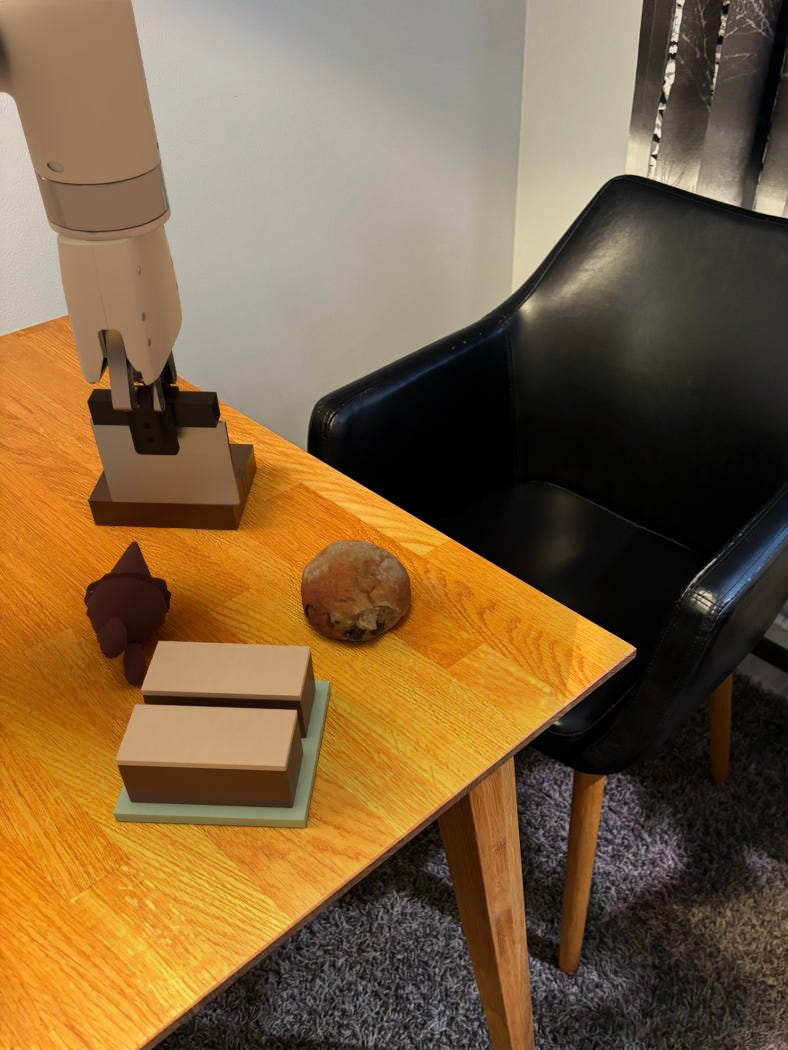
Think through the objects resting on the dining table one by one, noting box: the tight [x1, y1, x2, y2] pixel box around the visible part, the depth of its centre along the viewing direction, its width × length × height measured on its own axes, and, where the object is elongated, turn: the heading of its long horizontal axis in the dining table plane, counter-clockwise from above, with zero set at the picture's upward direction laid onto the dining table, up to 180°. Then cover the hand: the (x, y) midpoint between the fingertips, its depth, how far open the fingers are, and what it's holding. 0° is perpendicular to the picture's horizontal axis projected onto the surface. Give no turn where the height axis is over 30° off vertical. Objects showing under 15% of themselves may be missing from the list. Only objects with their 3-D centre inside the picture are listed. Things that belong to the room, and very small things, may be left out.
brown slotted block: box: [87, 443, 258, 531], centre depth 101 cm, size 14×11×3 cm
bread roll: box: [300, 539, 412, 642], centre depth 90 cm, size 10×10×8 cm
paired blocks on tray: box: [112, 640, 332, 829], centre depth 77 cm, size 14×14×6 cm
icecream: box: [83, 540, 173, 687], centre depth 86 cm, size 7×7×15 cm
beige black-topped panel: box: [86, 388, 240, 505], centre depth 76 cm, size 10×2×10 cm, turn 90°
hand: (162, 441), depth 76 cm, fingers closed on beige black-topped panel, 1 cm apart
